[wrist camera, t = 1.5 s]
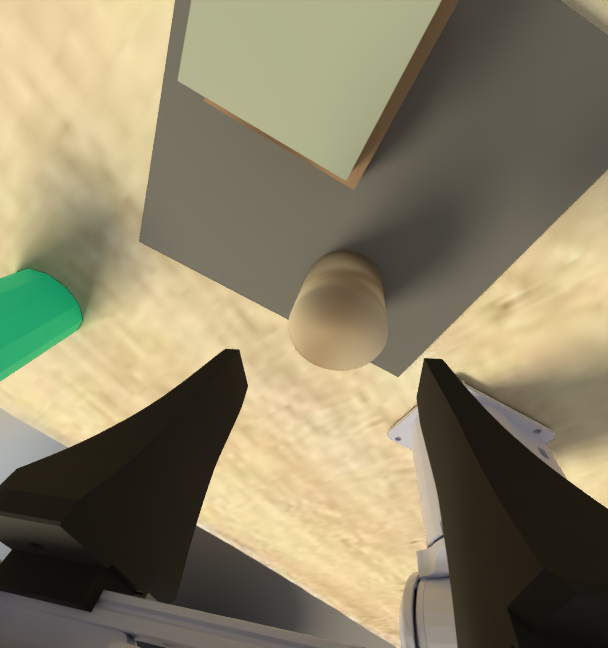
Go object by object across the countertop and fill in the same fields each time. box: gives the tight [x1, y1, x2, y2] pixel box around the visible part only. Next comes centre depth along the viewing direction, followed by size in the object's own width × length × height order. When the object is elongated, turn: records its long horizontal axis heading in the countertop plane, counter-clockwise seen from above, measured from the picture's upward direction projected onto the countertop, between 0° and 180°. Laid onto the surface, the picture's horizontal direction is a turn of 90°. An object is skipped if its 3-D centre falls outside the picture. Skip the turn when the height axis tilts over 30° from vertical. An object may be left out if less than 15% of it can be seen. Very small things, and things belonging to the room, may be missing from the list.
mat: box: [139, 0, 608, 377], centre depth 15 cm, size 20×18×1 cm
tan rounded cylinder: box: [288, 251, 388, 371], centre depth 16 cm, size 5×5×5 cm
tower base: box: [204, 0, 459, 190], centre depth 11 cm, size 7×7×3 cm
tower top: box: [178, 0, 441, 181], centre depth 9 cm, size 6×6×3 cm
